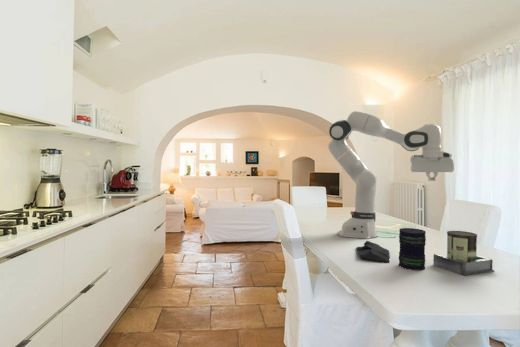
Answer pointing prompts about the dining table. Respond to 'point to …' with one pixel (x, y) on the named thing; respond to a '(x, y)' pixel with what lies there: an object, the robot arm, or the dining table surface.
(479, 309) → the dining table surface
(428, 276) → the dining table surface
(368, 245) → the dark slate chunk
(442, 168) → the robot arm
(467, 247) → the coffee can
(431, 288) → the dining table surface
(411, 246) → the storage jar
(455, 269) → the receiver bay
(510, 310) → the dining table surface
